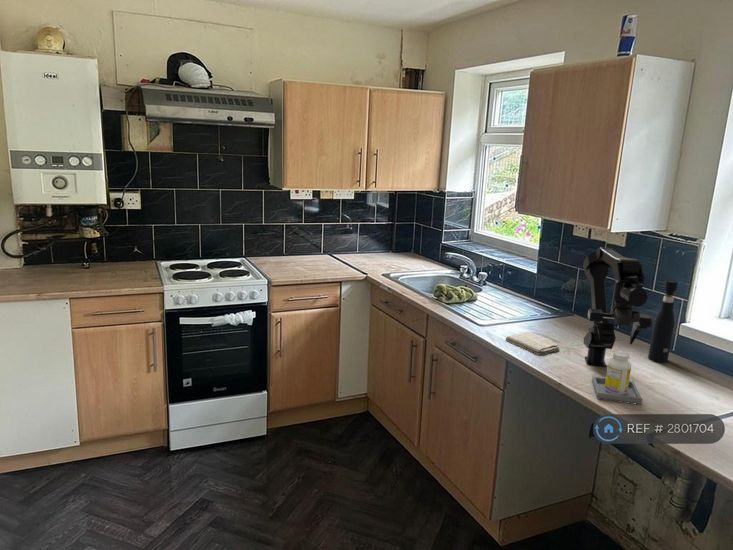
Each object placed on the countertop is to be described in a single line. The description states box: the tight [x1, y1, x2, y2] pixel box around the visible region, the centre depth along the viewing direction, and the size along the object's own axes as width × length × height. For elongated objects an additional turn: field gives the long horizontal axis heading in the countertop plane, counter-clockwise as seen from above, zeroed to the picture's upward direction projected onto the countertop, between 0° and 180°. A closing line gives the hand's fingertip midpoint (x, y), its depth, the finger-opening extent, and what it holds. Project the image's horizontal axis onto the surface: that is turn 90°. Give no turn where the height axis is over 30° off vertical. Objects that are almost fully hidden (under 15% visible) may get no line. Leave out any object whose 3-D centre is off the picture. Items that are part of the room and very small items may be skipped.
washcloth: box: [505, 331, 560, 356], centre depth 211 cm, size 12×18×3 cm, turn 32°
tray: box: [591, 375, 643, 405], centre depth 173 cm, size 13×13×2 cm
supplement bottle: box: [605, 350, 632, 395], centre depth 172 cm, size 7×7×13 cm
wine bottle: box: [647, 279, 679, 364], centre depth 197 cm, size 6×6×30 cm
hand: (615, 342), depth 180 cm, fingers open, 9 cm apart
